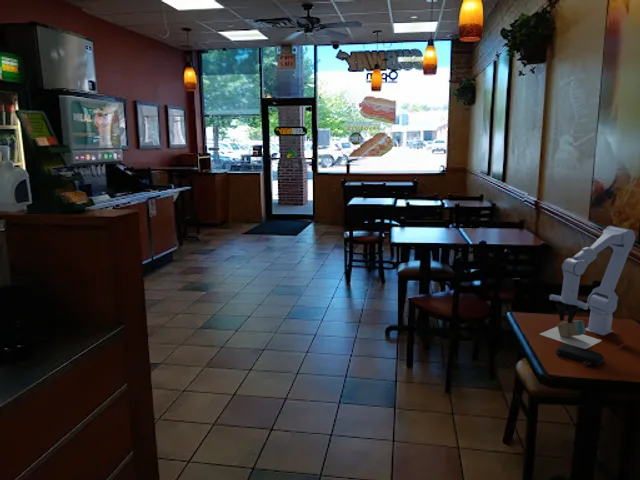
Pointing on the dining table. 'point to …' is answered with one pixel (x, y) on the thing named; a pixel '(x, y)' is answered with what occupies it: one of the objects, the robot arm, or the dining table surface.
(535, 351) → the dining table surface
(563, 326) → the teal and wood block
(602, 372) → the dining table surface
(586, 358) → the carrying case or bag
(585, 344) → the mat
